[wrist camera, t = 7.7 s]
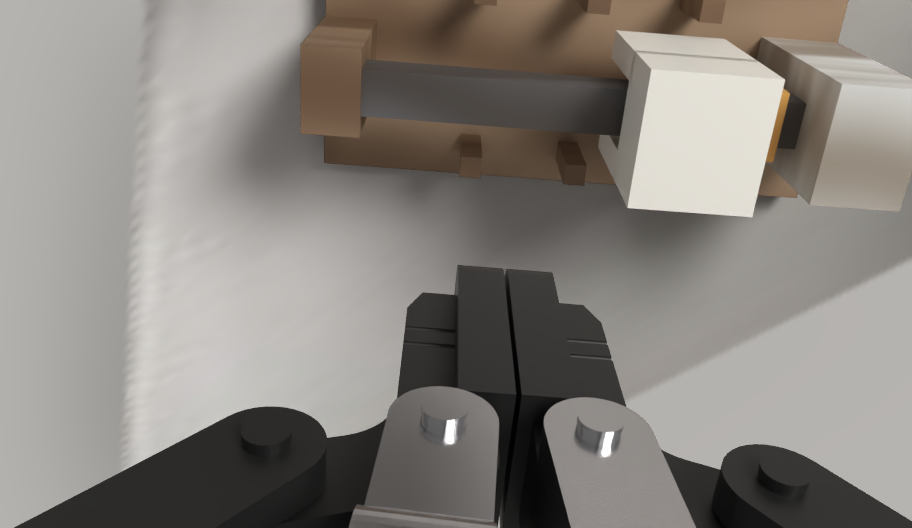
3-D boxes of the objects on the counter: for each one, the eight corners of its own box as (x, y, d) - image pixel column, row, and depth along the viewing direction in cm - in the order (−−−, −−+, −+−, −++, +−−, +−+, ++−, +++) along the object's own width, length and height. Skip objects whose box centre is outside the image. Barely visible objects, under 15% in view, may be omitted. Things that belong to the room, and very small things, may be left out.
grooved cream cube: (615, 30, 31) (651, 69, 25) (725, 38, 31) (785, 79, 25) (597, 146, 33) (627, 208, 27) (700, 154, 33) (752, 217, 27)
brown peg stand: (331, -70, 33) (288, -47, 25) (842, -28, 34) (964, 8, 25) (328, 154, 37) (290, 237, 29) (787, 188, 37) (877, 279, 29)
